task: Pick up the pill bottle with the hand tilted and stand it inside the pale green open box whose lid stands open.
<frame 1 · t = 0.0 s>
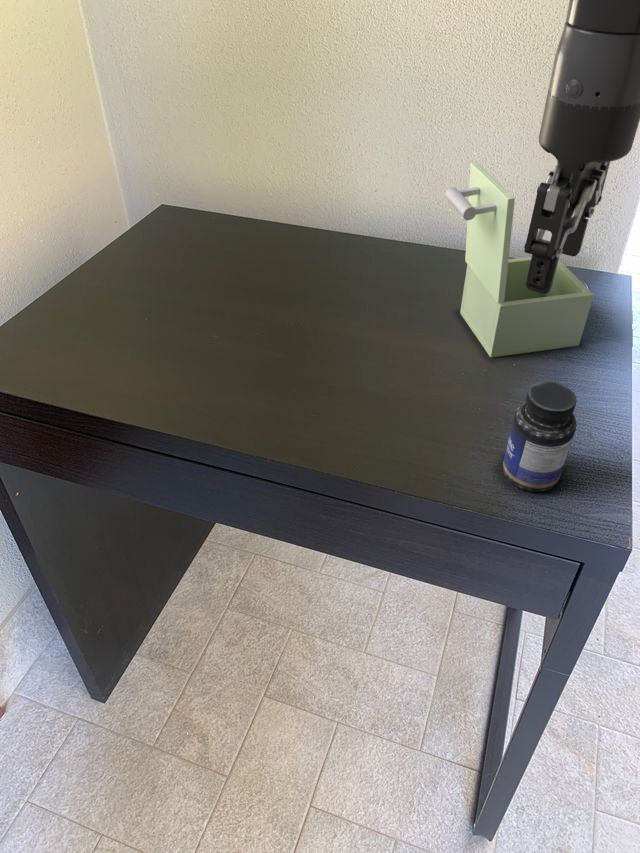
hand: (553, 270, 65), 21 cm above the table, tool pointing down, fingers open, 8 cm apart
green box lid: (471, 235, 85), point 15 cm above the table, hinge at 95.0°
pill bottle: (529, 475, 75), on the table
pale green open box: (517, 328, 96), on the table
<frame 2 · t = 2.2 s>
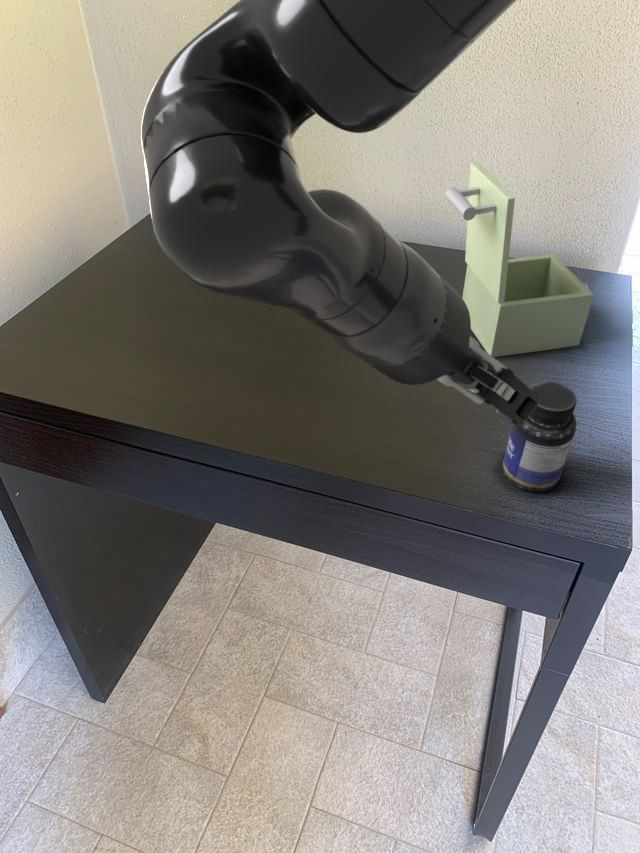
hand: (483, 384, 58), 18 cm above the table, tool tilted 45°, fingers open, 8 cm apart
nothing on the table moved.
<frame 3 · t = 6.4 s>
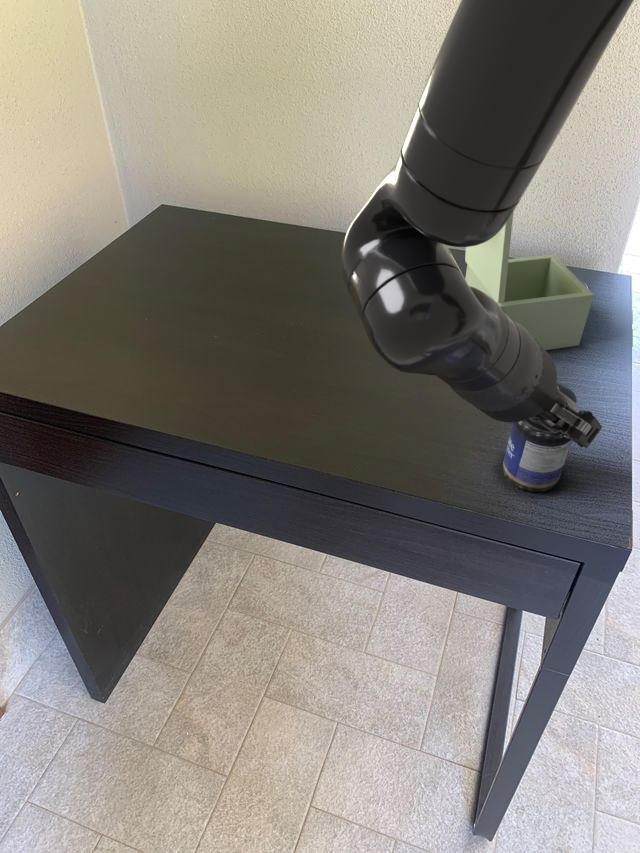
hand: (554, 416, 70), 7 cm above the table, tool tilted 45°, fingers closed on pill bottle, 6 cm apart
pill bottle: (529, 475, 75), on the table, touching gripper
everything else where it was.
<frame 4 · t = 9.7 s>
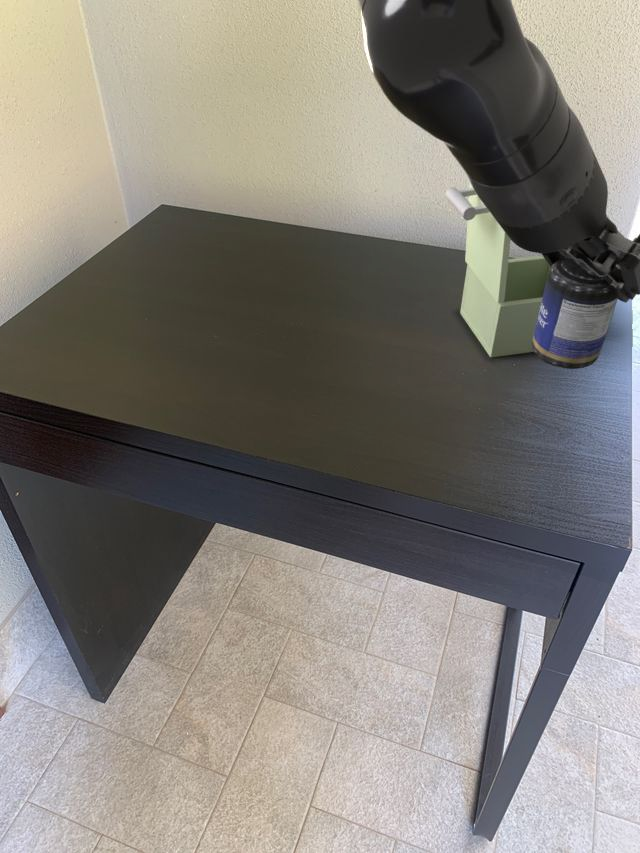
hand: (595, 276, 60), 24 cm above the table, tool tilted 45°, fingers closed on pill bottle, 6 cm apart
pill bottle: (564, 353, 64), point 16 cm above the table, touching gripper
everything else where it was.
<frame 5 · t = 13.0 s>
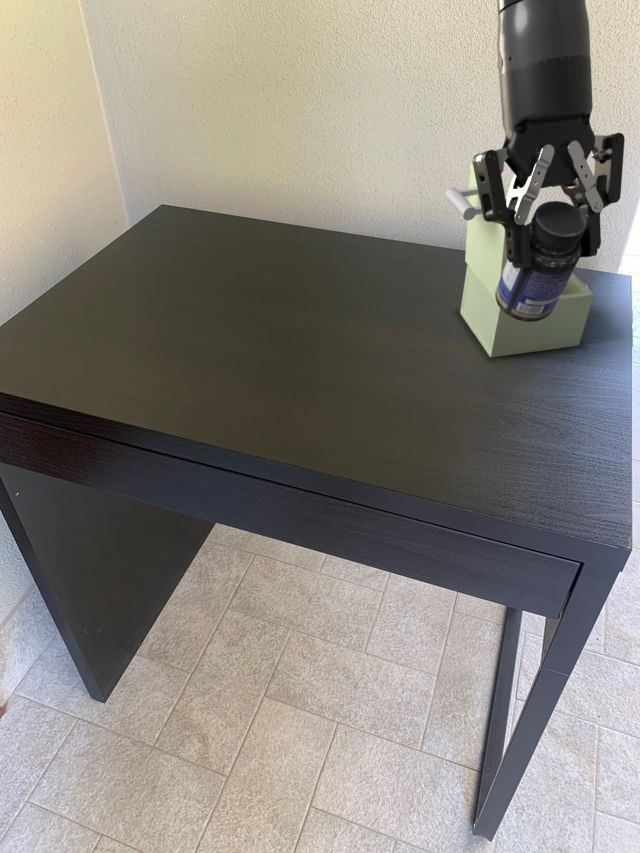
hand: (555, 261, 63), 23 cm above the table, tool tilted 25°, fingers closed on pill bottle, 6 cm apart
pill bottle: (522, 302, 70), point 16 cm above the table, touching gripper
everything else where it was.
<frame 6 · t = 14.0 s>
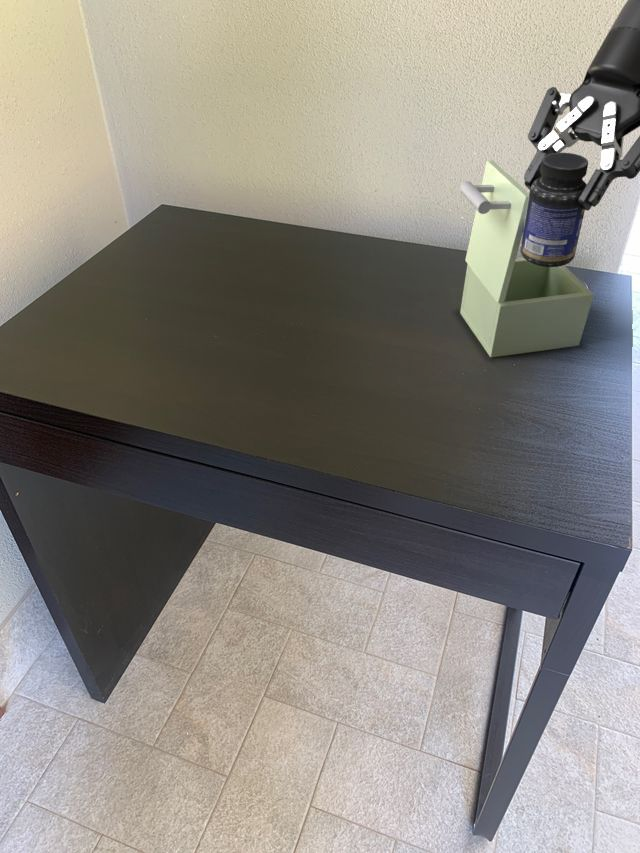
hand: (555, 196, 74), 23 cm above the table, tool tilted 40°, fingers closed on pill bottle, 6 cm apart
green box lid: (480, 232, 85), point 15 cm above the table, hinge at 86.1°, touching pill bottle
pill bottle: (545, 257, 79), point 16 cm above the table, touching green box lid, gripper
when the fingers open (8 cm above the table, at t = 20.0 s): pill bottle stays where it is, resting on pale green open box.
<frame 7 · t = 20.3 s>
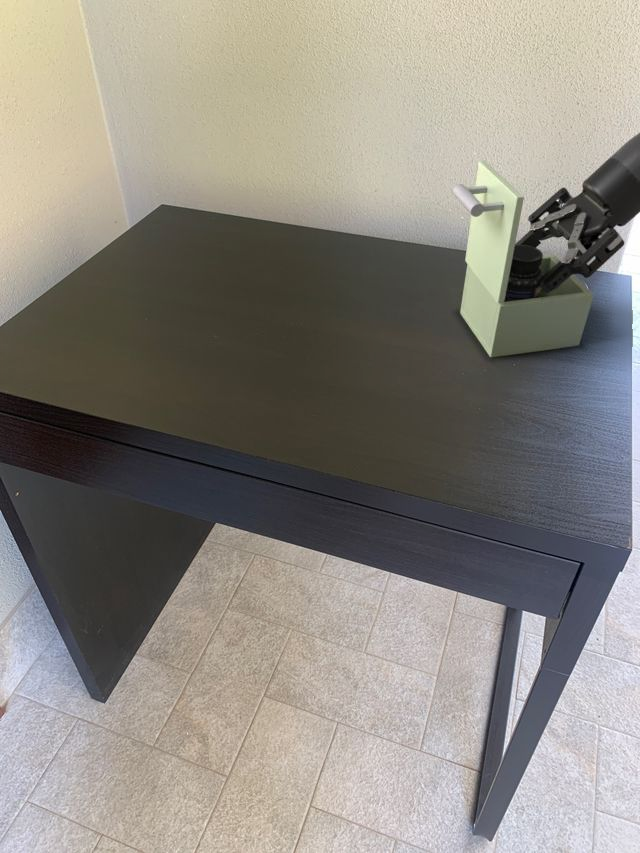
hand: (527, 271, 90), 9 cm above the table, tool tilted 45°, fingers open, 8 cm apart
green box lid: (476, 233, 85), point 15 cm above the table, hinge at 90.4°
pill bottle: (508, 326, 95), point 1 cm above the table, touching pale green open box
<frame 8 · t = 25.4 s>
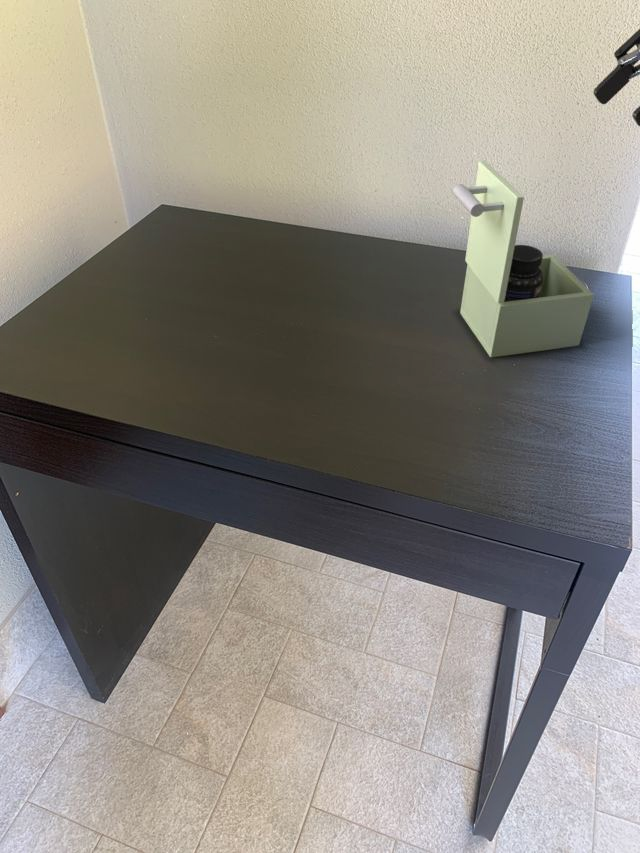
hand: (616, 110, 78), 29 cm above the table, tool tilted 45°, fingers open, 8 cm apart
nothing on the table moved.
at the end: pill bottle inside the target area in the pale green open box (1.6 cm from its centre), point 0.7 cm above the pale green open box's base; pill bottle tilted 0°; green box lid at +90° (first picture: +95°) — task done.
